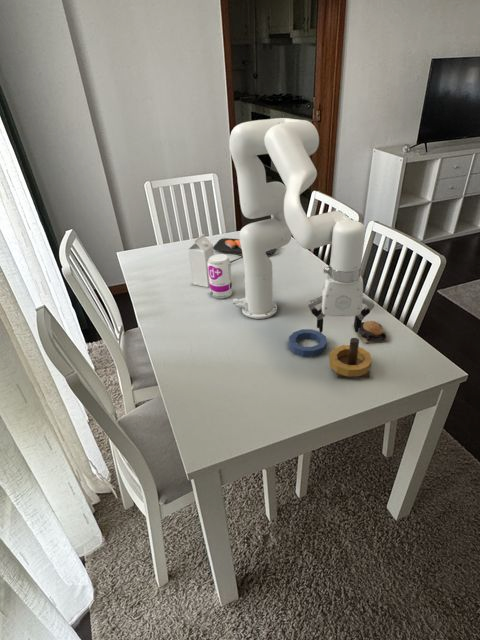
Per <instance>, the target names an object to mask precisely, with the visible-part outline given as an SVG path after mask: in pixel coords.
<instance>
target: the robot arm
mask: <svg viewBox="0 0 480 640" xmlns="http://www.w3.org/2000/svg"><path fill="white" fill-rule="evenodd" d="M228 143H229V152H230V156H231V158H232V161H233V165H234V168H235V171H236V177H237V179H236V180H237V187H238V196H239V205H240V210H241V214H242V215H243V216H244V217H245V218H246V219H248V220H249V219H250V220H253V219H254V220H255V219H259V218H264V217H269V216H270V217H271V218H268V219H262V220H258V221H255V222H250V223H248V224H246V225H244V226H243V227H241V229H240V231H239V234H238V239H239V240H240V245H241V249H242V253H241V255H242V256H243V258H242V261H243V274H244V276H243V277H244V293H245V296H244V297H242V298H233V300H232V302H233V305H235V306H236V308H241V312H242V314H243V315H245V316H246V317H247V318H250V319H255V320H263V319H268V318H271V317H273V316H274V315H275V314H276V313H277V312H278V306H277V304H276V303H275V302H274V301H273V299H274V298H273V297H274V295H273V293H274V292H273V263H272V259H270V257H269V256H268V254H266V252H267V251H269V250H272V249H275V248H276V249H278V248H281V247H285V246H287V245H288V244H289V243H290V242H291V240H292V237H293V239H294V240H295V242H296V243H297V244H298V246H299V247H301V248H303V249H305V250H313V249H318V248H321V247H324V246H327V245H331V248H330V258H329V260H330V261H329V264H328V266H327V267H323V274H327V275H326V276H325V280H324V283H323V288H322V292H321V293H322V294H321V296H318V297H316V298H313V299H311V300H309V301H308V302H307V307H308V309H309V310H310V312H311V314H312V315H313V316H314V317H316V329H318V331H319V332H321V333H323V328H324V317H325V316H327V317H354V321H353V322H354V323H353V328H354V331H355V333H358V330H359V328H361V323H362V322H363V320H364V319H365V317H367V316H368V315H369V314H370V313H371V311H372V310H373V309H374V307H375V305H376V304H375V301H373V300H371V299H369V298H368V297H365V296H364V280H363V277H362V275H361V271H362V270H361V269H362V261H363V254H364V248H365V247H364V246H365V240H366V231H367V229H366V226H365V224H364V223H362V222H361V221H358V220H354V219H351V218H350V216H348V215H347V214H346V213H344V212H343V211H340V210H332V211H328V212H323V213H320V214H315V215H312V216H307V214H306V212H305V210H304V208H303V206H302V203H301V197H300V195H302V193H304V192H305V191H306V190H308V188H309V187H311V186H312V185H313V183H314V182H315V180H316V179H317V176H318V171H317V169H316V166H315V164H314V163H313V161H312V159H311V157H310V156H311V155H314V153H316V152H317V150H318V149H319V145H320V136H319V132H318V130H317V128H316V126H315V125H314V124H313V123H312V122H310V121H309V120H306V119H299V118H298V119H297V118H289V117H278V118H277V117H276V118H267V119H257V120H250V121H244V122H241V123H239V124H237V125H235V126H234V127H233V129H232V130H231V132H230V135H229V142H228ZM260 155H269V157H270V159H271V161H272V163H273V165H274V167H275V169H276V171H277V173H278V174H279V176H280V178H281V180H282V182H283V183H282V182H280V181H270V182H267V174H266V173H267V172H266V169H265V165H264V163H263V162H262V161H261V159H260V158H259V156H260ZM320 304H321V307H319V309H317V307H316V306H318V305H320ZM363 305H364V306H365V305H366V306H365V307H364V308H363Z"/></svg>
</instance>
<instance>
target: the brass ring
mask: <svg viewBox="0 0 480 640" xmlns="http://www.w3.org/2000/svg"><path fill="white" fill-rule="evenodd" d="M349 347H350V344H342V345H339V346H337V347H333V349H332V350H331V352H330V353H329V357H328V358H329V359H328V362H329V367H330V369H332V370H333V371H334V372H335V373H336V372H337V373H338V374H341V375H344V376H348V377H353V376H361V375H363V374H366V373H368V371H369V372H370V369H371V367H372V363H373V359H372V356H371V353H370V352H369V351H367V350H366V349H365V348H364V347H361V346H358V353H357V358H359V359H360V360H361V361H362V362H363V363H361V364H358V365H347V364H344V363H342V362H340V361H339V360H338V358H340V357H342V356H348V355H349ZM337 373H336V374H337Z"/></svg>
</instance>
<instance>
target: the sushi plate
mask: <svg viewBox="0 0 480 640" xmlns="http://www.w3.org/2000/svg"><path fill="white" fill-rule="evenodd" d="M213 249H214V251H219V252H227V253H231V254H234V255H236V256H239V257H238V258H236V259H233V260H230V264H232V263H234V262H236V261H238V260H240V259H243V254H242V249H241V245H240V240H239V238H231V237H230V238H228V237H225V238H224V237H223V238H220V239H219V240H217V242H216V243H215V244H213ZM276 249H277V248H275V249H272V250H269V251H267V252H266V255H272V254H274V253H275V251H276Z"/></svg>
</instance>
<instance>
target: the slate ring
mask: <svg viewBox="0 0 480 640" xmlns="http://www.w3.org/2000/svg"><path fill="white" fill-rule="evenodd" d="M303 340H312V341H314V342H316V343H318V344H316V345H313V346H304V345H301V344H299V343H298V342H300V341H303ZM288 341H289V342H288V348H289V350H290V351H291V352H292V353H293V354H294V355H297V356H299V357H303V358H315V357H318V356H321V355H323V354H324V353H325V351H327V349H328V339H327V336H326V335H325V334H323V332H320V331H319V330H316V329H311V328H304V329H303V328H302V329H299V330H296V331H293V332H292V333H291V334H290V336H288Z"/></svg>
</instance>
